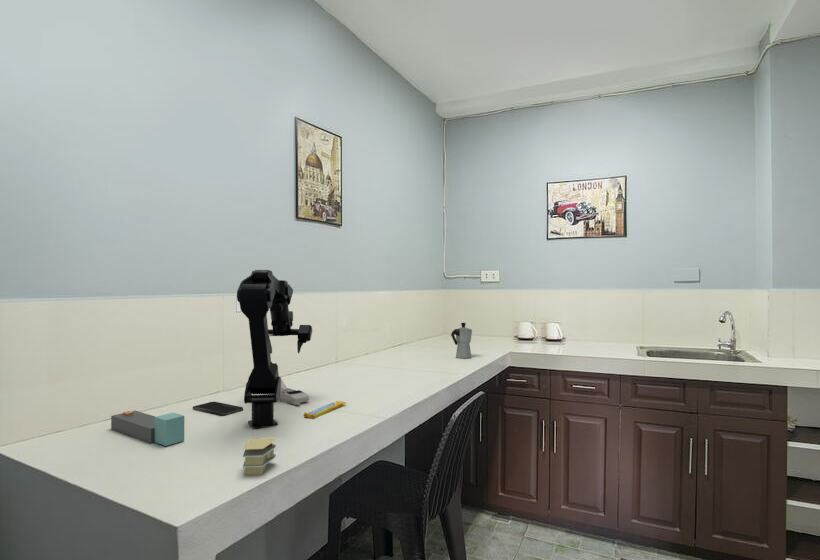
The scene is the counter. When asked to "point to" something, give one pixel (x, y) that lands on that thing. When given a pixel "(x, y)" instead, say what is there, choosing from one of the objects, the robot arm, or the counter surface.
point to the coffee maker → (462, 341)
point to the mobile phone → (292, 395)
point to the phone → (218, 408)
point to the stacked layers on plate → (258, 455)
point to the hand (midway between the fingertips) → (285, 352)
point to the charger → (169, 429)
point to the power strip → (135, 425)
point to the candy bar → (324, 409)
